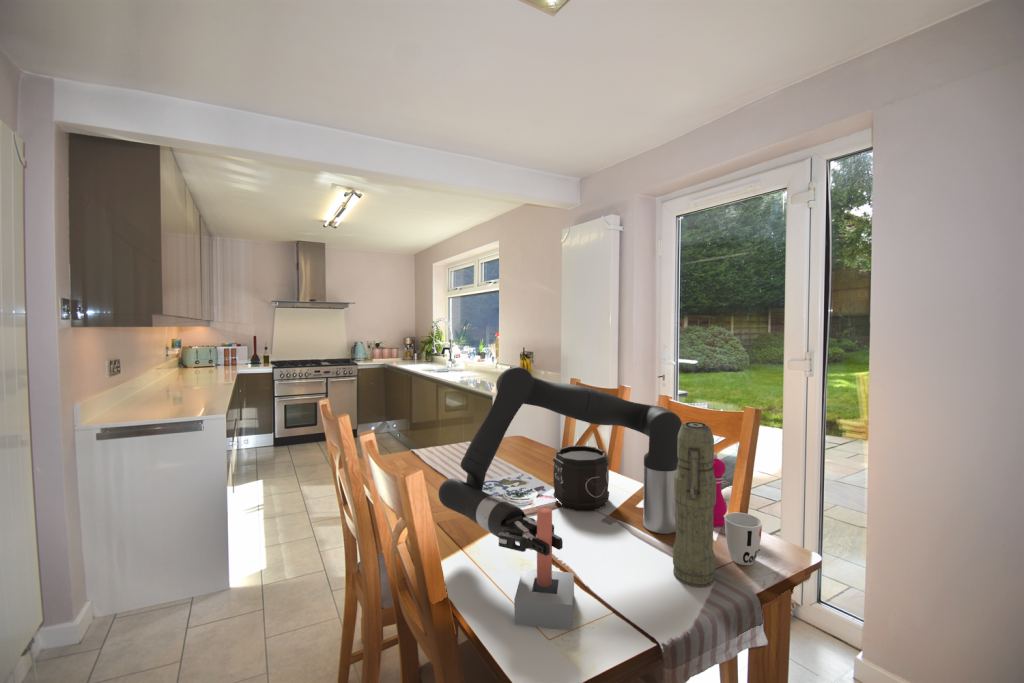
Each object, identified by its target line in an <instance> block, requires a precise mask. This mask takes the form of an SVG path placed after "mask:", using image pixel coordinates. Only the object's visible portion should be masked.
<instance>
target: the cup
mask: <svg viewBox="0 0 1024 683" xmlns="http://www.w3.org/2000/svg"><path fill="white" fill-rule="evenodd" d="M724 517H725V524H724V530H725V531H724V532H725V533H724V534H725V540H726V546H727V550H728V553H729V556H730V559H731V560H732V561H733V563H735V564H738V565H742V566H752V565H754V563H755V561H756V559H757V557H758V554H759V549H760V544H761V541H762V540H761V539H762V531H763V530H762V528H763V521H762V520H761V519H760V518H759V517H757V516H754V515H752V514H750V513H747V512H746V513H744V512H737V511H736V512H728V513H726V514H725V515H724Z"/></svg>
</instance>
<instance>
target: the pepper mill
mask: <svg viewBox="0 0 1024 683" xmlns="http://www.w3.org/2000/svg"><path fill="white" fill-rule="evenodd" d="M713 467H714V475H715V478H716V504H715V506H714V509H713V528H719V527H725V515H726V514H727V512H728V506H727V501H726V500H725V497H724V495H723V491H722V483H723V482H724V476H723V475H724V474H725V473H726V465H725V463H724V461H722V460H721V459H719V458H718V454H717V453H716V452H714V461H713Z"/></svg>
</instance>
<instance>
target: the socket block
mask: <svg viewBox="0 0 1024 683" xmlns="http://www.w3.org/2000/svg"><path fill="white" fill-rule="evenodd" d="M574 601H575V572H566V571H556V570H555V571H554V570H552V584H551V585H550V586H548V587H542V586H539V585H538V584H537V569H530V568H522V571H521V574H520V578H519V581H518V584H517V589H516V592H515V595H514V600H513V603H514V604H513V605H514V609H513V610H514V625H519V626H527V627H529V626H530V627H537V628H547V629H549V628H550V629H557V630H565V631H567V630H568V631H573V630H572V629H573V616H574V603H575V602H574Z"/></svg>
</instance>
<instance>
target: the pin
mask: <svg viewBox="0 0 1024 683" xmlns="http://www.w3.org/2000/svg"><path fill="white" fill-rule="evenodd" d="M536 520H537V538H538V539H540V540H542V541H544V542H546V543H548V544H549V546H550V554H549V555H547V556H545V555H543V554H540V553H539V552H537V551H536V570H537V584H538V585H539V586H542V587H548V586H550V585H551V584H552V571H553V570H552V569H553V564H552V563H553V546H552V524H553V510H552V509H551V508H549V507H539V508H538V509H537V510H536Z"/></svg>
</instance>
